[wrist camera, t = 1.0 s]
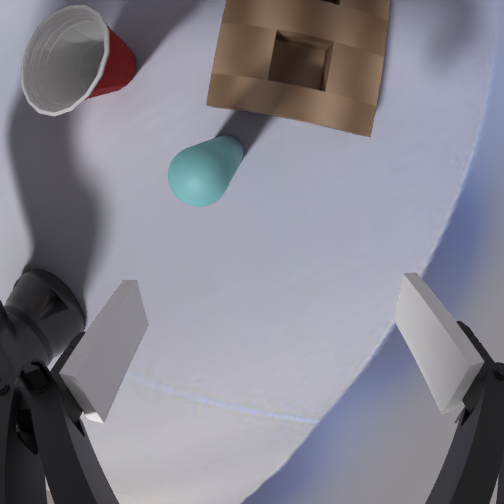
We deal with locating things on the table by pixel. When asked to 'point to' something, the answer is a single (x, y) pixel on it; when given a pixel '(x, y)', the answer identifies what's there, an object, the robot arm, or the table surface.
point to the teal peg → (205, 170)
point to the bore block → (302, 60)
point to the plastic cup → (73, 61)
